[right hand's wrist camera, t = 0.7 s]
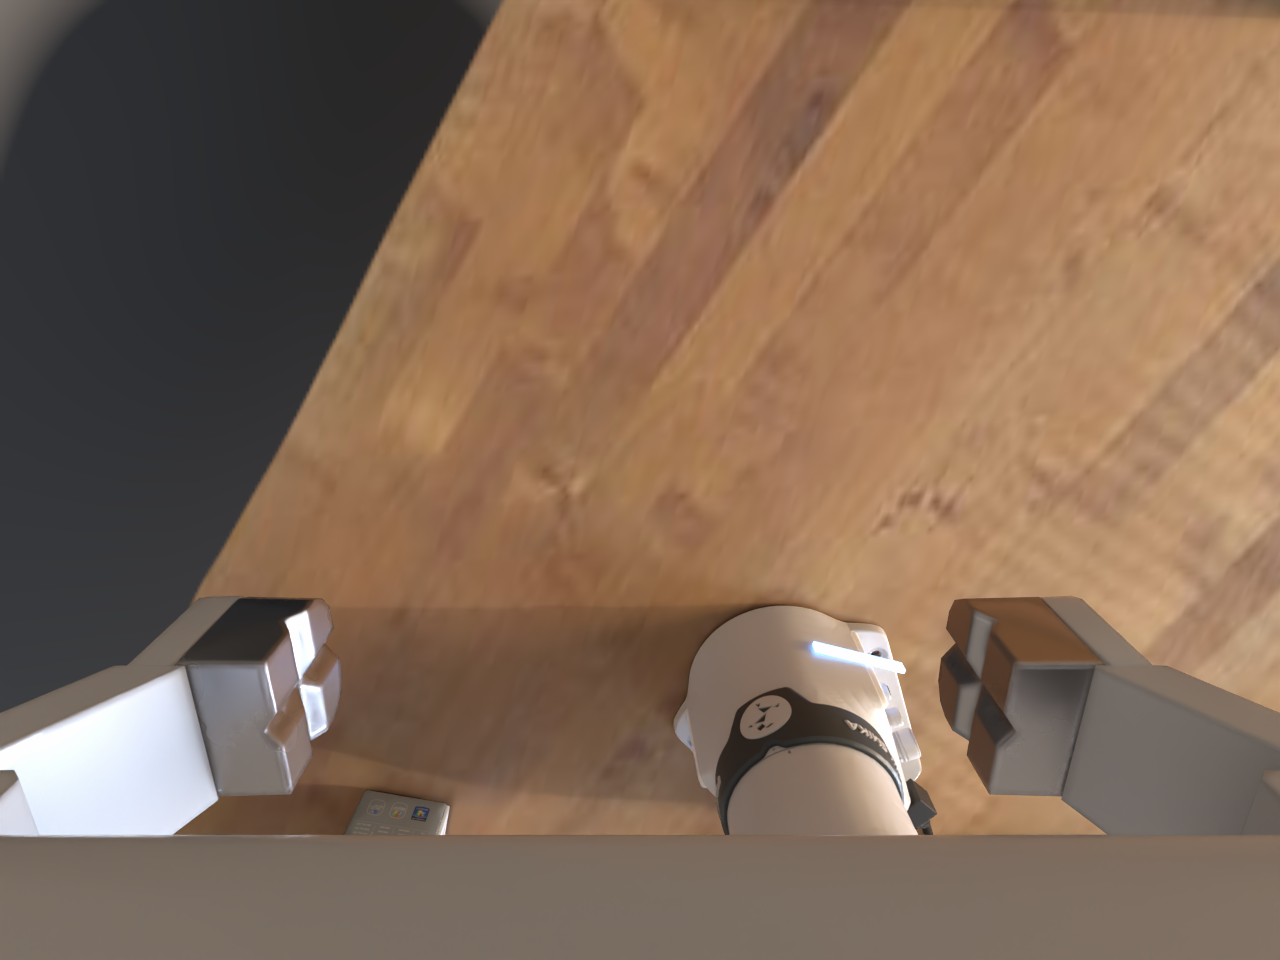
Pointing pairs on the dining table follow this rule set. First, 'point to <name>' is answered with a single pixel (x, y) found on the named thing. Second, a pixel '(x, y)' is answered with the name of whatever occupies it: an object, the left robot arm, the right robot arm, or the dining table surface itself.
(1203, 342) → the dining table surface
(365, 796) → the hard drive box
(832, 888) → the right robot arm
